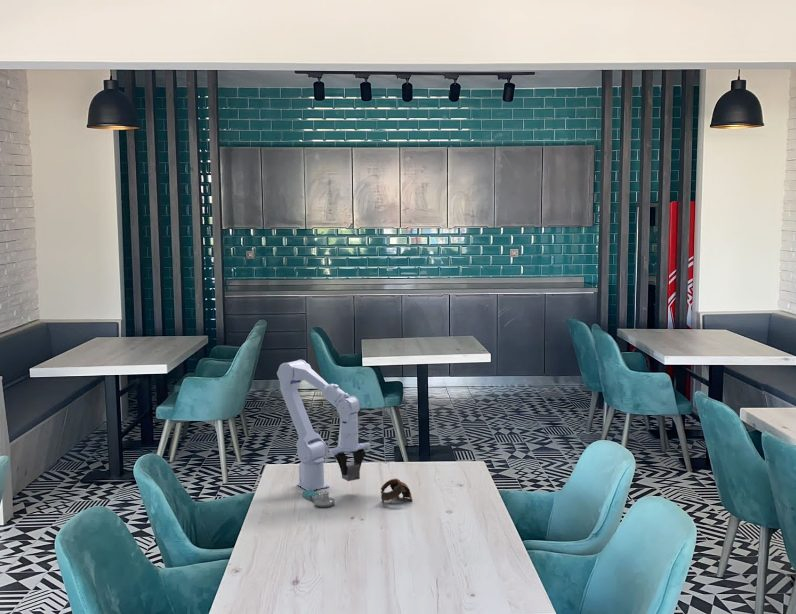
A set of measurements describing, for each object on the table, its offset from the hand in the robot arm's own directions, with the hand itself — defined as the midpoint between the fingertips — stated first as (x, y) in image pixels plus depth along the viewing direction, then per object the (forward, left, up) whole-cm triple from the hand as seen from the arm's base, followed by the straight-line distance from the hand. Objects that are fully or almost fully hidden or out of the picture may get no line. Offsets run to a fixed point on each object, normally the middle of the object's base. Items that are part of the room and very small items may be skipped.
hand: (350, 473), depth 280 cm
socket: (0, 0, -2) cm, 2 cm away
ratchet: (+1, -13, -7) cm, 15 cm away
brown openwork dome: (+16, +8, -7) cm, 19 cm away
